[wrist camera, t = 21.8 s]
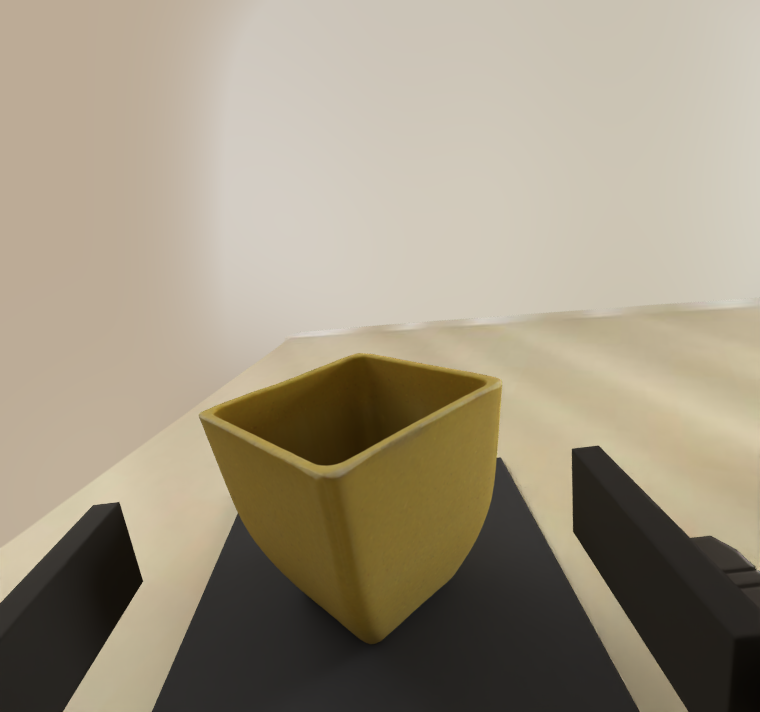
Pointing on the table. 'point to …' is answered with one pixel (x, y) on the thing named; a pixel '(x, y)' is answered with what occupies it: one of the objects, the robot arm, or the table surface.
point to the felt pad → (400, 637)
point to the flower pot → (363, 480)
